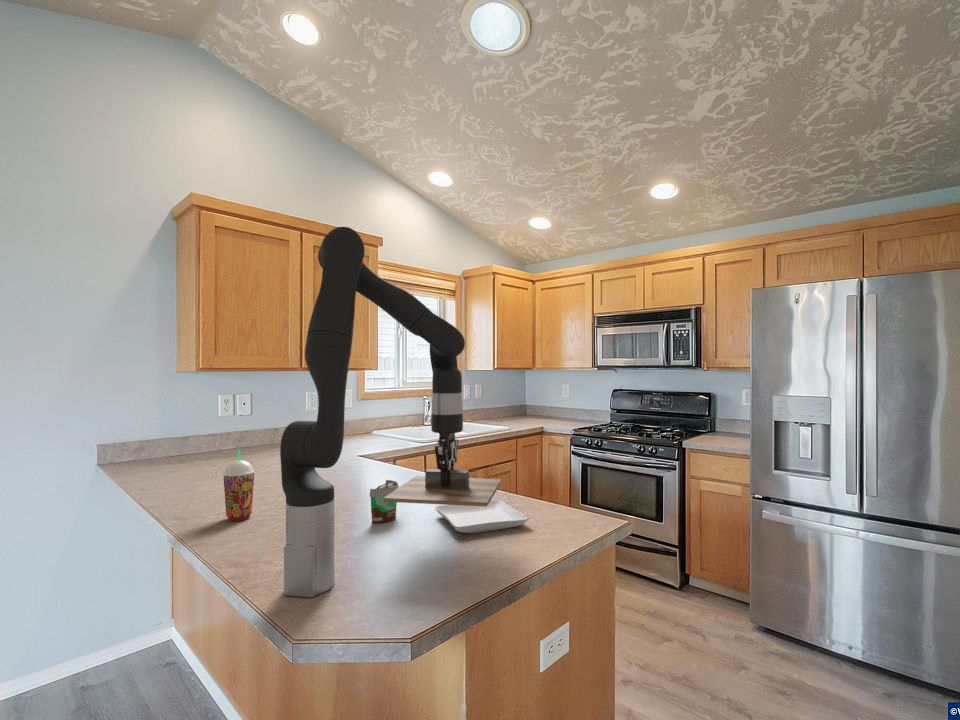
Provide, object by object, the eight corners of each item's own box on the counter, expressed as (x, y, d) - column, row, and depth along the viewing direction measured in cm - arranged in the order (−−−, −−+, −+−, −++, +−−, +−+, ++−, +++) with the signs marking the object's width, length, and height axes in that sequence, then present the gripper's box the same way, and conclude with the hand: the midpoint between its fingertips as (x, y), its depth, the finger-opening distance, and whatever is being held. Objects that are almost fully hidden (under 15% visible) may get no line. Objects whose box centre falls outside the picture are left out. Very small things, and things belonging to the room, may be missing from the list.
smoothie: (216, 520, 140) (216, 451, 140) (242, 512, 147) (242, 447, 148) (235, 524, 136) (235, 454, 136) (260, 516, 143) (260, 449, 144)
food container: (390, 526, 133) (390, 490, 134) (369, 525, 135) (369, 489, 135) (405, 513, 145) (405, 480, 146) (386, 512, 147) (386, 479, 147)
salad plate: (499, 508, 150) (498, 497, 150) (530, 530, 131) (530, 517, 131) (433, 516, 143) (433, 505, 143) (456, 540, 123) (456, 527, 123)
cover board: (487, 506, 101) (486, 483, 101) (383, 501, 105) (383, 479, 105) (501, 482, 124) (501, 463, 124) (415, 478, 128) (415, 460, 128)
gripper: (455, 414, 107) (456, 492, 107) (468, 409, 121) (468, 478, 121) (423, 414, 109) (423, 491, 108) (439, 409, 122) (439, 477, 122)
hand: (447, 484), depth 114 cm, fingers closed on cover board, 3 cm apart
